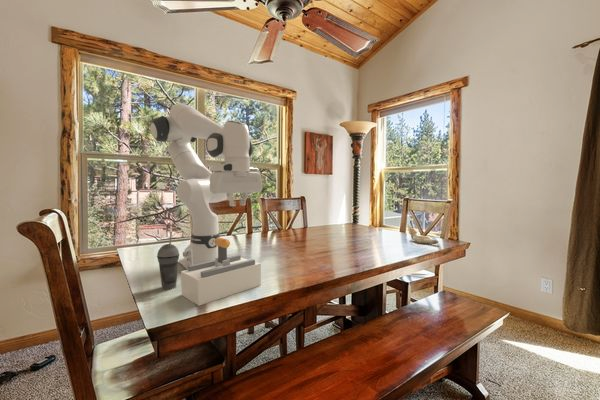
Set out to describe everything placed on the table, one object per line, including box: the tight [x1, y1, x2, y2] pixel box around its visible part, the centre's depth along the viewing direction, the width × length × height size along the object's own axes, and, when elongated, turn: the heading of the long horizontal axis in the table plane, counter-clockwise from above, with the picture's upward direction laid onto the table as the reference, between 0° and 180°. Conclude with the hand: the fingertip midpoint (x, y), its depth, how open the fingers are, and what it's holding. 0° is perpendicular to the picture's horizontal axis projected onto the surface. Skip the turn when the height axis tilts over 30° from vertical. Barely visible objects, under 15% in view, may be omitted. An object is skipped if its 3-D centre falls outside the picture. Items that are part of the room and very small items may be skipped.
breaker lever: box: [215, 236, 231, 263], centre depth 99 cm, size 5×3×8 cm, turn 46°
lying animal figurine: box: [407, 224, 439, 245], centre depth 177 cm, size 9×21×10 cm, turn 31°
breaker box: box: [180, 257, 262, 307], centre depth 99 cm, size 12×24×11 cm, turn 136°
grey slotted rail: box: [187, 254, 256, 278], centre depth 99 cm, size 11×20×2 cm, turn 136°
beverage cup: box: [156, 231, 180, 290], centre depth 101 cm, size 7×7×20 cm
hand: (237, 205), depth 102 cm, fingers open, 3 cm apart
